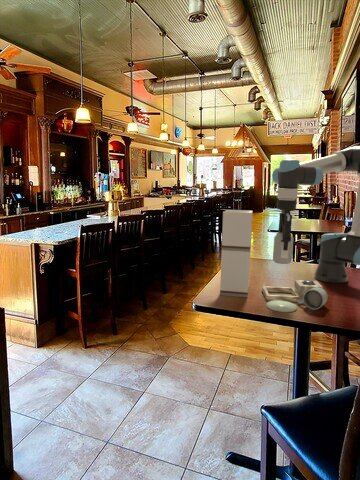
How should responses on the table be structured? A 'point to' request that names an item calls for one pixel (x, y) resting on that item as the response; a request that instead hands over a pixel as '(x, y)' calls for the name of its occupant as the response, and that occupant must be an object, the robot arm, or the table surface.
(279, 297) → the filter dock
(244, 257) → the tall seamed white tower
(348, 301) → the table surface
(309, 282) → the glossy grey oval piece
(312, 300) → the ceramic mug
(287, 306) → the pad
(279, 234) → the can
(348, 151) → the robot arm
